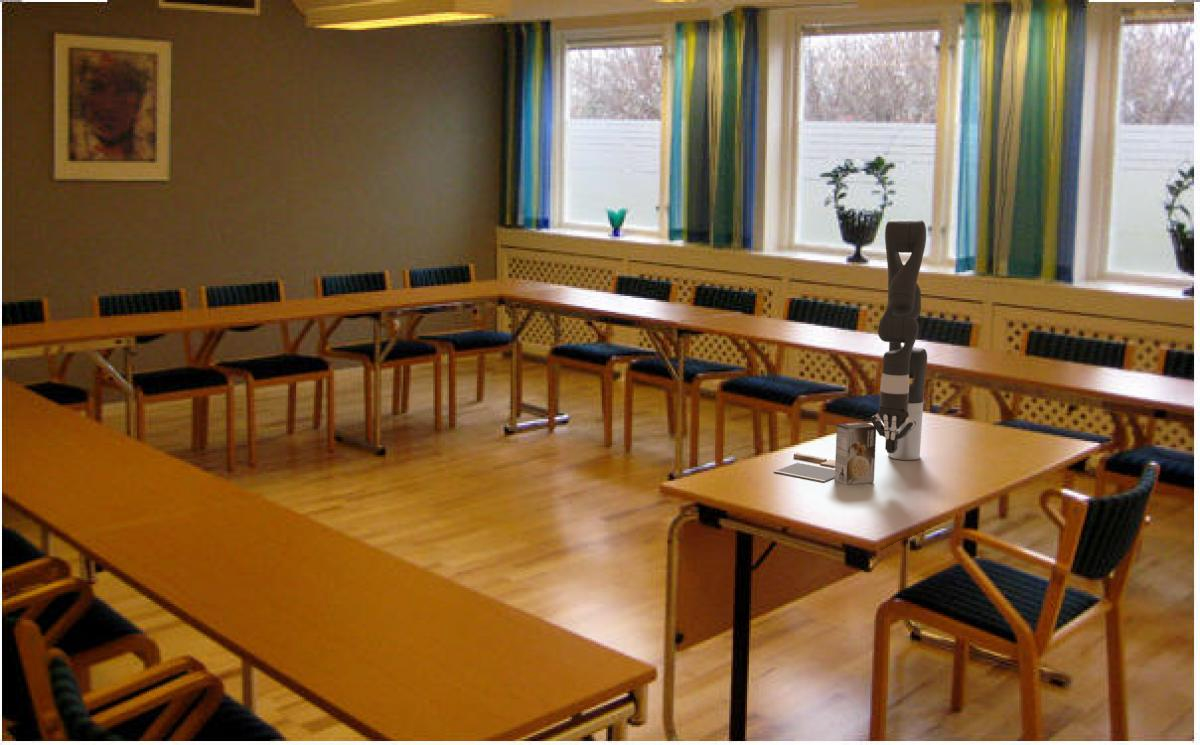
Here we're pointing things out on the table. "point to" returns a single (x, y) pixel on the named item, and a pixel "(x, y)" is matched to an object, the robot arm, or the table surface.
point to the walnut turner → (816, 460)
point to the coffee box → (855, 453)
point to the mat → (808, 472)
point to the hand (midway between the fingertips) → (890, 452)
